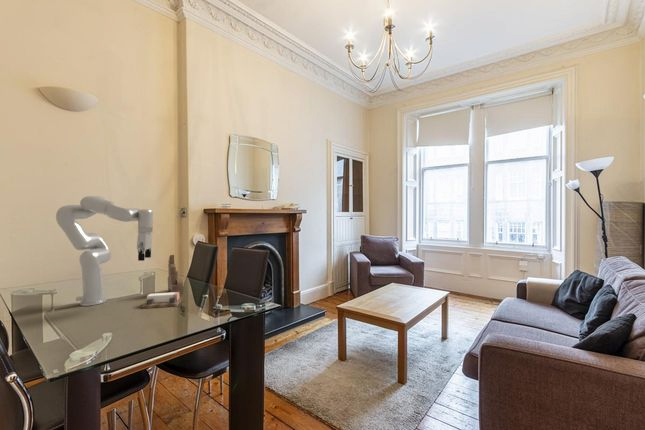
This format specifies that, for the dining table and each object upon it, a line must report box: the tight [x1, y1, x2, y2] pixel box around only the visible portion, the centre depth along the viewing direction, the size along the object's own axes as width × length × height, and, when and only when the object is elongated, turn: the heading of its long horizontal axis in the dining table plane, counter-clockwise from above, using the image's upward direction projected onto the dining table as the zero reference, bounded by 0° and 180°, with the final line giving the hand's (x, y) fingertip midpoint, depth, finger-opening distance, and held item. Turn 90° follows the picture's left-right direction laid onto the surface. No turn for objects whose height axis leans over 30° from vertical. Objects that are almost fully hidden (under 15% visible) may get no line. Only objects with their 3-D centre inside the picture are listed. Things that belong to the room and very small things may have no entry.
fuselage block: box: [146, 292, 179, 303], centre depth 178 cm, size 16×5×4 cm, turn 101°
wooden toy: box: [167, 254, 184, 295], centre depth 201 cm, size 15×7×25 cm, turn 38°
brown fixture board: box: [141, 293, 184, 310], centre depth 178 cm, size 18×14×4 cm
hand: (144, 259), depth 180 cm, fingers open, 9 cm apart
